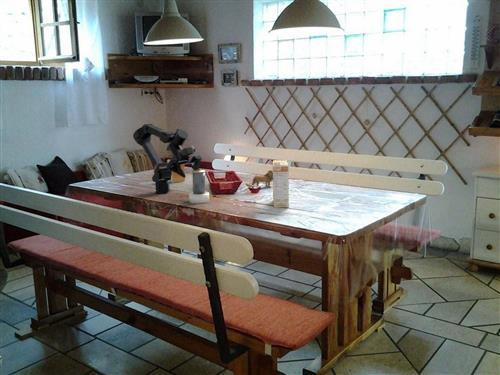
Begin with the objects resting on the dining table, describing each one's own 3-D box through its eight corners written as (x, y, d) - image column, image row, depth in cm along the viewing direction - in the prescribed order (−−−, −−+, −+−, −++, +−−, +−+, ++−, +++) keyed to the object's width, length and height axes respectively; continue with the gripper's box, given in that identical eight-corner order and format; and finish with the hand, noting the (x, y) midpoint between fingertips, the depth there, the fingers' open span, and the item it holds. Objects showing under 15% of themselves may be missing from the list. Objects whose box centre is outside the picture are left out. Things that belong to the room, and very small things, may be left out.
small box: (172, 183, 286) (171, 160, 283) (168, 181, 291) (166, 159, 288) (185, 181, 290) (184, 159, 288) (180, 179, 295) (179, 158, 293)
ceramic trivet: (187, 203, 236) (186, 195, 235) (191, 198, 246) (191, 191, 245) (207, 203, 235) (207, 195, 234) (211, 199, 245) (211, 191, 244)
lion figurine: (271, 185, 274) (271, 169, 272) (276, 186, 270) (276, 170, 268) (248, 188, 268) (248, 171, 266) (253, 189, 263) (252, 173, 261)
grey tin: (190, 193, 239) (189, 170, 237) (198, 191, 244) (197, 169, 242) (200, 194, 235) (199, 171, 234) (208, 192, 241) (207, 170, 239)
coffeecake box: (273, 200, 239) (272, 160, 235) (287, 199, 238) (287, 159, 234) (273, 207, 224) (272, 165, 220) (289, 207, 224) (288, 165, 220)
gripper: (168, 143, 234) (184, 168, 229) (198, 139, 247) (214, 163, 242) (159, 157, 242) (174, 182, 236) (189, 153, 255) (204, 177, 249)
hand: (192, 176), depth 241 cm, fingers open, 9 cm apart
